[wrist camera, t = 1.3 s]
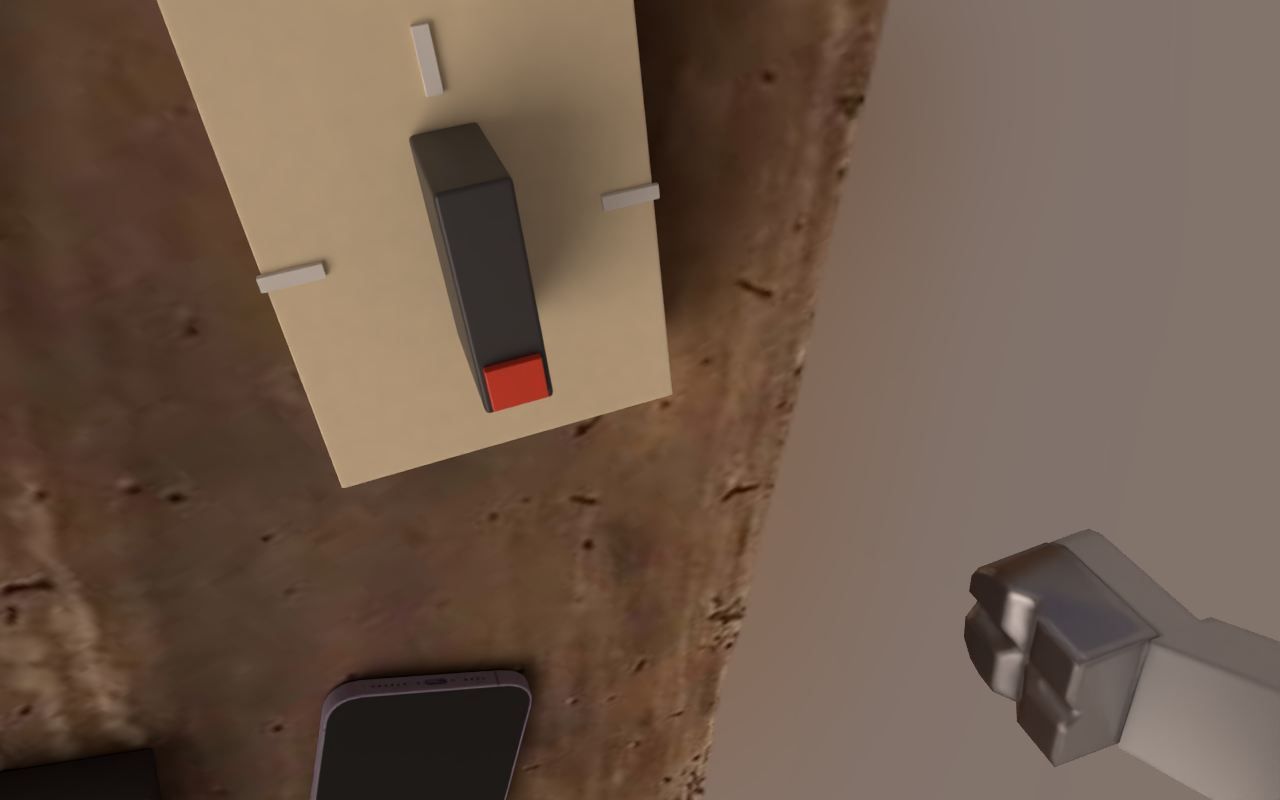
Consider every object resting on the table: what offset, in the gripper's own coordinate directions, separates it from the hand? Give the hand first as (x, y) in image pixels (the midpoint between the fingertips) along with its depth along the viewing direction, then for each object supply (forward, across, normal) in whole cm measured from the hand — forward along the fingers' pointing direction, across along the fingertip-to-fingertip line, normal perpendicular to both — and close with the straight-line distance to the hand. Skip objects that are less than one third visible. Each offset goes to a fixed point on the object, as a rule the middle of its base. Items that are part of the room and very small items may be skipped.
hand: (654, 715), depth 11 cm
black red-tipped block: (+14, 0, 0) cm, 14 cm away
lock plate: (+17, 0, 0) cm, 17 cm away
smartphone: (+17, +7, +24) cm, 30 cm away
